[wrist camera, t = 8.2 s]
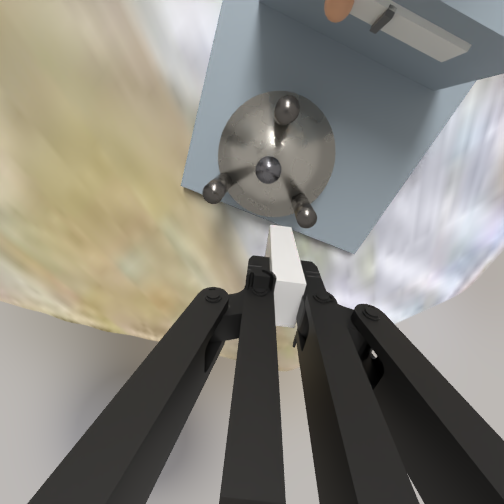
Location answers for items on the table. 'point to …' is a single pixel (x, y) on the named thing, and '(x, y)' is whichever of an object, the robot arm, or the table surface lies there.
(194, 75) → the table surface
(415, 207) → the table surface
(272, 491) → the robot arm
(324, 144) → the capstan
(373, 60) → the stand
